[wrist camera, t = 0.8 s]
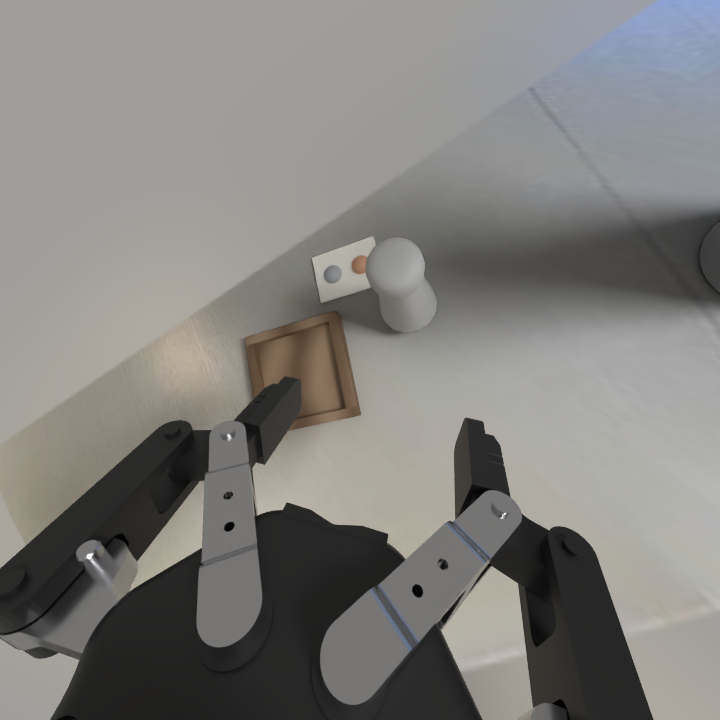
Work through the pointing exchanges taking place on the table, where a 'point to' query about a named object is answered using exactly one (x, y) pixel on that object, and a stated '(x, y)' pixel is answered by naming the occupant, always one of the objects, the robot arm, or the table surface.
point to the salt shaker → (401, 284)
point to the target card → (343, 270)
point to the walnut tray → (307, 367)
